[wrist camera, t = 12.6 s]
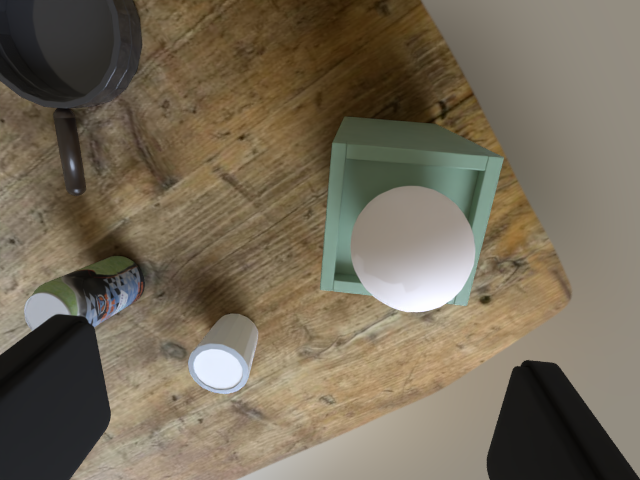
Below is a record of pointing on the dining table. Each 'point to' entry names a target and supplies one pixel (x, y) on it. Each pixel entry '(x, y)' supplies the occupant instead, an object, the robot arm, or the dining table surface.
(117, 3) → the pan
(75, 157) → the pan handle
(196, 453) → the dining table surface
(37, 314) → the beverage can
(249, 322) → the white cylinder
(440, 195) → the egg
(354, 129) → the stand
